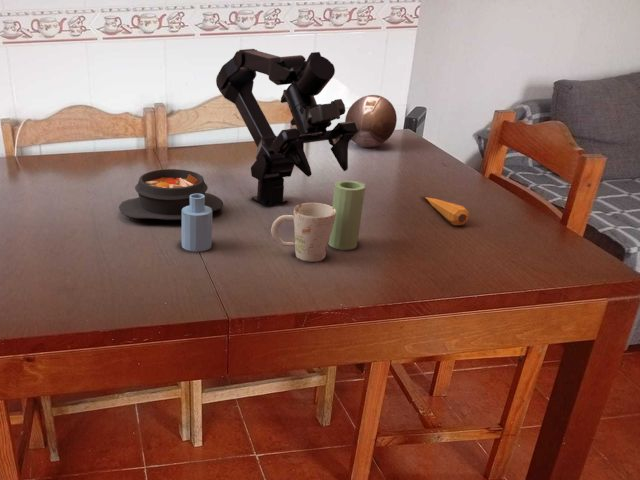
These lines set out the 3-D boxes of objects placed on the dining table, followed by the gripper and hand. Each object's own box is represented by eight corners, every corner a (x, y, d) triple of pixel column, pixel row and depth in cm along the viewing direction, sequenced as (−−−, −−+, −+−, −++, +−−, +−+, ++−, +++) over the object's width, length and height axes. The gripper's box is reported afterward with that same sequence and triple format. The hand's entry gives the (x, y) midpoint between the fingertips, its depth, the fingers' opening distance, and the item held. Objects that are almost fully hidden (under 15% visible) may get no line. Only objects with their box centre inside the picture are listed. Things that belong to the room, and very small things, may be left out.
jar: (322, 242, 150) (329, 183, 143) (344, 236, 153) (351, 178, 146) (341, 252, 146) (349, 191, 139) (362, 246, 148) (371, 186, 141)
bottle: (176, 243, 150) (176, 194, 144) (201, 238, 153) (202, 189, 147) (191, 253, 145) (191, 203, 140) (216, 247, 148) (218, 197, 142)
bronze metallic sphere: (343, 152, 209) (349, 100, 201) (341, 139, 221) (347, 89, 214) (394, 154, 207) (403, 101, 199) (390, 140, 219) (397, 91, 211)
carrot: (465, 230, 157) (475, 212, 156) (448, 223, 156) (459, 205, 154) (427, 208, 175) (436, 191, 173) (412, 202, 174) (421, 185, 172)
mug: (330, 265, 140) (336, 218, 135) (267, 261, 142) (270, 214, 137) (331, 249, 147) (336, 204, 142) (271, 245, 149) (274, 200, 144)
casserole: (208, 195, 176) (209, 162, 172) (234, 220, 161) (236, 185, 157) (111, 205, 170) (110, 171, 166) (129, 232, 155) (127, 196, 151)
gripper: (283, 89, 140) (308, 158, 138) (358, 82, 147) (384, 147, 144) (261, 121, 151) (284, 186, 148) (332, 112, 157) (356, 174, 154)
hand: (328, 172), depth 148 cm, fingers open, 9 cm apart
